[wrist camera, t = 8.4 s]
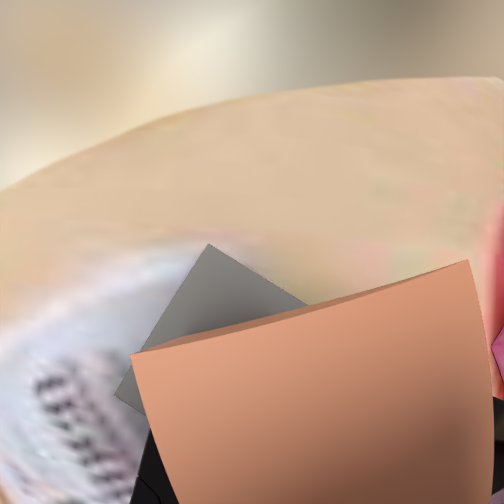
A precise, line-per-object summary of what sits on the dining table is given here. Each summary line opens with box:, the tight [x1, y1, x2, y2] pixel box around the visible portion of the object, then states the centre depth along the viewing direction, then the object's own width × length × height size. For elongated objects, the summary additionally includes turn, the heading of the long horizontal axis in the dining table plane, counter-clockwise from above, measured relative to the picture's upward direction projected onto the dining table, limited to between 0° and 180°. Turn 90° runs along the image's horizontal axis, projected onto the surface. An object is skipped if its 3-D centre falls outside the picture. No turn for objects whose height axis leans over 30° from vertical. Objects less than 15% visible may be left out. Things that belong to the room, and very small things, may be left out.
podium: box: [114, 244, 308, 416], centre depth 18 cm, size 10×10×2 cm
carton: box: [130, 259, 494, 504], centre depth 9 cm, size 5×5×12 cm
